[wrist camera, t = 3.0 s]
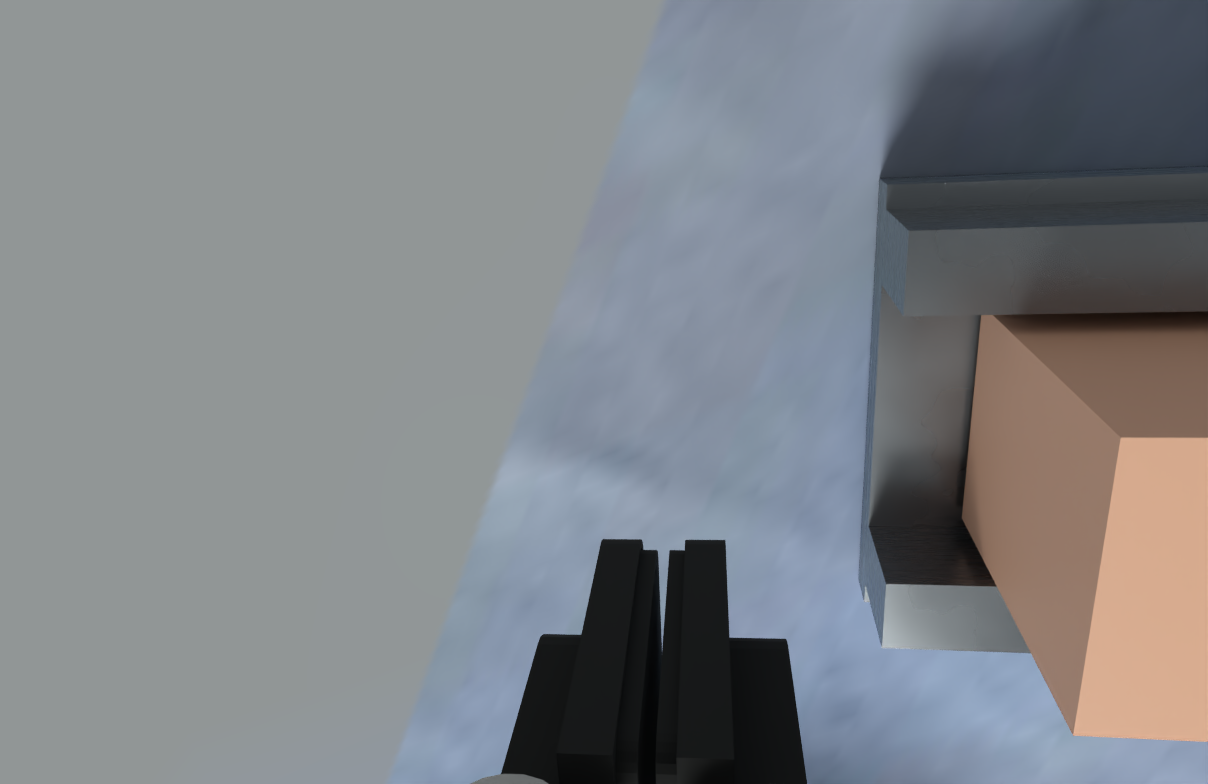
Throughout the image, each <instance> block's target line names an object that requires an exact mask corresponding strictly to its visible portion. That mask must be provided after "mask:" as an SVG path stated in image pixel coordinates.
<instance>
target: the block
mask: <svg viewBox="0 0 1208 784" xmlns="http://www.w3.org/2000/svg"><path fill="white" fill-rule="evenodd" d="M962 519H963V521H964V523H965V525H966V527H967V529H968V531H969V533H970V535H971V537H972V539H973V541H974V543H975V545H976V547H977V549H978V551H979V553H980V555H981V556H982V558H983V560H984V562H985V564H986V566H987V568H988V570H989V572H990V574H991V576H992V578H993V580H994V582H995V584H996V586H997V588H998V590H999V592H1000V594H1001V596H1002V597H1003V599H1004V601H1005V603H1006V605H1007V607H1008V609H1009V611H1010V613H1011V615H1012V617H1013V619H1014V621H1015V623H1016V625H1017V627H1018V629H1019V631H1020V633H1021V635H1022V637H1023V638H1024V640H1025V642H1026V644H1027V646H1028V648H1029V650H1030V652H1031V654H1032V656H1033V658H1034V660H1035V662H1036V664H1037V666H1038V668H1039V670H1040V672H1041V674H1042V676H1043V678H1044V679H1045V681H1046V683H1047V685H1048V687H1049V689H1050V691H1051V693H1052V695H1053V697H1054V699H1055V701H1056V703H1057V705H1058V707H1059V709H1060V711H1061V713H1062V715H1063V717H1064V719H1065V720H1066V722H1067V724H1068V726H1069V728H1070V730H1071V732H1072V734H1073V736H1094V737H1115V738H1137V739H1158V740H1180V741H1201V742H1208V311H1195V312H1135V313H1076V314H1016V315H981V323H980V333H979V344H978V354H977V365H976V375H975V386H974V396H973V407H972V417H971V428H970V438H969V448H968V459H967V469H966V480H965V490H964V501H963V511H962Z"/></svg>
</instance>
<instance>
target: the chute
mask: <svg viewBox="0 0 1208 784" xmlns="http://www.w3.org/2000/svg"><path fill="white" fill-rule="evenodd" d="M1195 311H1208V166H1204V167H1177V168H1151V169H1125V170H1098V171H1072V172H1046V173H1019V174H993V175H967V176H940V177H914V178H888V179H879V199H878V218H877V237H876V256H875V275H874V295H873V314H872V333H871V352H870V371H869V391H868V410H867V429H866V448H865V467H864V487H863V506H862V525H861V544H860V563H859V583H860V587H861V591H862V595H863V599H864V602H870V604H871V608H872V612H873V616H874V620H875V623H876V627H877V631H878V635H879V639H880V642H881V646H882V648H897V649H926V650H955V651H984V652H1013V653H1031V652H1030V650H1029V648H1028V646H1027V644H1026V642H1025V640H1024V638H1023V637H1022V635H1021V633H1020V631H1019V629H1018V627H1017V625H1016V623H1015V621H1014V619H1013V617H1012V615H1011V613H1010V611H1009V609H1008V607H1007V605H1006V603H1005V601H1004V599H1003V597H1002V596H1001V594H1000V592H999V590H998V588H997V586H996V584H995V582H994V580H993V578H992V576H991V574H990V572H989V570H988V568H987V566H986V564H985V562H984V560H983V558H982V556H981V555H980V553H979V551H978V549H977V547H976V545H975V543H974V541H973V539H972V537H971V535H970V533H969V531H968V529H967V527H966V525H965V523H964V521H963V519H962V511H963V501H964V490H965V480H966V469H967V459H968V448H969V438H970V428H971V417H972V407H973V396H974V386H975V375H976V365H977V354H978V344H979V333H980V323H981V315H1016V314H1076V313H1135V312H1195Z"/></svg>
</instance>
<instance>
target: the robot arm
mask: <svg viewBox="0 0 1208 784" xmlns="http://www.w3.org/2000/svg"><path fill="white" fill-rule="evenodd" d="M471 784H807V780H806V773H805V766H804V758H803V751H802V744H801V737H800V730H799V722H798V715H797V708H796V701H795V693H794V686H793V679H792V672H791V664H790V657H789V650H788V644H787V641H786V639H763V638H729V619H728V595H727V570H726V545H725V540H685V551H684V550H670V553H669V567H668V581H667V595H666V608H665V622H664V636H663V650H662V642H661V616H660V591H659V565H658V551H657V550H643V542H642V540H627V539H603V540H602V542H601V546H600V550H599V555H598V560H597V564H596V569H595V574H594V579H593V583H592V588H591V593H590V597H589V602H588V607H587V611H586V616H585V621H584V626H583V630H582V635H559V634H543V635H542V636H541V637H540V640H539V642H538V645H537V649H536V652H535V656H534V659H533V663H532V667H531V670H530V674H529V677H528V681H527V684H526V688H525V691H524V695H523V698H522V702H521V705H520V709H519V713H518V716H517V720H516V723H515V727H514V730H513V734H512V737H511V741H510V744H509V748H508V751H507V755H506V759H505V762H504V766H503V769H502V773H501V774H500V775H495V776H490V777H486V778H482V779H480V780H478V781H475V782H473V783H471Z"/></svg>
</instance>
